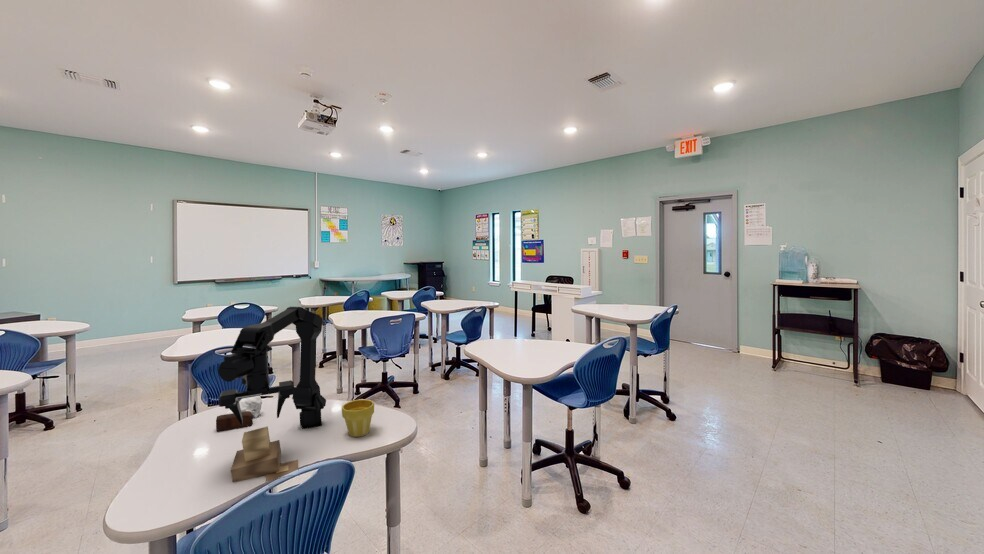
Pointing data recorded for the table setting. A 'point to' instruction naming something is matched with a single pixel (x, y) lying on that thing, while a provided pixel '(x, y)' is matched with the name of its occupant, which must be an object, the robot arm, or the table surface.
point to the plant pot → (358, 416)
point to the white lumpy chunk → (250, 405)
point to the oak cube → (256, 444)
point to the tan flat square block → (256, 464)
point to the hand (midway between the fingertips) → (260, 420)
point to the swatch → (283, 470)
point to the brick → (233, 421)
